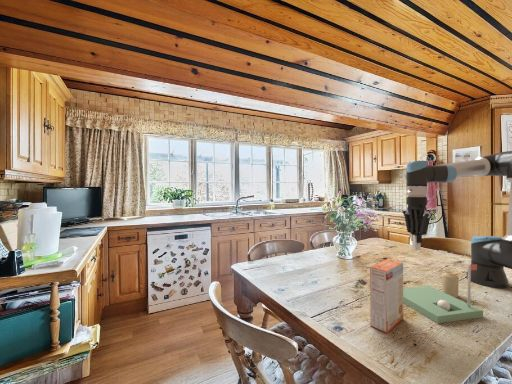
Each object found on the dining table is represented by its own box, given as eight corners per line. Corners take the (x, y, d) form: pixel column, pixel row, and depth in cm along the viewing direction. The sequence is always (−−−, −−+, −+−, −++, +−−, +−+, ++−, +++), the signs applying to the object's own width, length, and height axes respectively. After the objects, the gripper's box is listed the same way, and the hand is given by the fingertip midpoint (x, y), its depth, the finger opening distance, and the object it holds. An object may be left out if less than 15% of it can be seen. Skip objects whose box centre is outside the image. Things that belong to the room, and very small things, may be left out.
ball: (442, 307, 92) (442, 297, 92) (453, 312, 88) (453, 302, 88) (434, 308, 91) (434, 298, 91) (444, 314, 87) (444, 303, 87)
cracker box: (386, 312, 89) (387, 258, 89) (404, 319, 85) (404, 262, 84) (368, 325, 81) (369, 265, 80) (387, 334, 76) (387, 270, 75)
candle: (442, 290, 107) (442, 269, 107) (457, 294, 104) (458, 272, 104) (442, 295, 103) (442, 272, 103) (458, 298, 99) (458, 275, 99)
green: (430, 290, 107) (430, 250, 107) (484, 316, 86) (485, 267, 85) (390, 294, 103) (390, 253, 103) (437, 323, 82) (438, 271, 81)
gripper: (397, 195, 108) (397, 246, 108) (422, 197, 95) (422, 254, 95) (411, 195, 109) (411, 245, 110) (438, 196, 96) (437, 253, 97)
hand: (416, 249), depth 103 cm, fingers closed
